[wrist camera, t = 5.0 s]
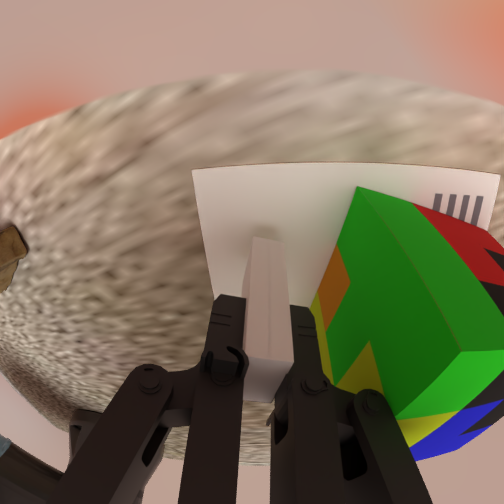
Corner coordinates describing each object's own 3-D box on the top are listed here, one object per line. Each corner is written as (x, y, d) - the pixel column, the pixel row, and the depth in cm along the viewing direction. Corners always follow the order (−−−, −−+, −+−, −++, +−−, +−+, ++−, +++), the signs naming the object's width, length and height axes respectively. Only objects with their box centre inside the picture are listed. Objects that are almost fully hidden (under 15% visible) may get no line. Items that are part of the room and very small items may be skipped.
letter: (225, 348, 20) (225, 350, 20) (192, 169, 13) (191, 170, 13) (448, 328, 19) (448, 329, 19) (499, 174, 12) (500, 175, 12)
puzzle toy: (418, 338, 19) (456, 449, 11) (301, 327, 19) (312, 474, 10) (485, 229, 14) (575, 341, 6) (357, 186, 13) (461, 351, 5)
